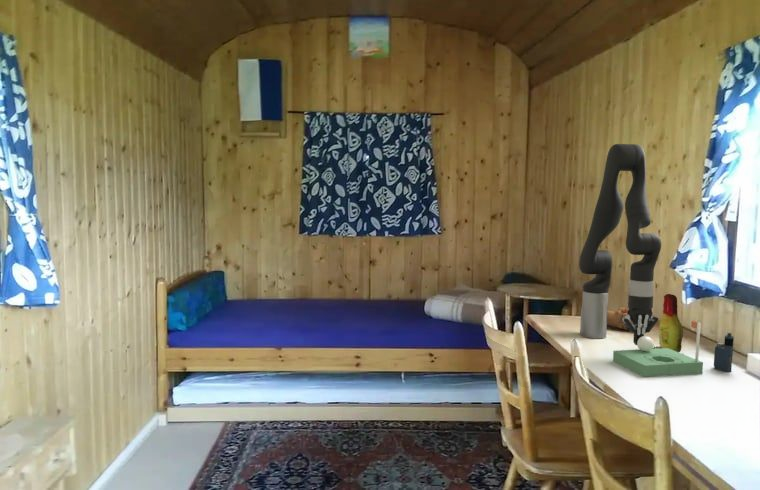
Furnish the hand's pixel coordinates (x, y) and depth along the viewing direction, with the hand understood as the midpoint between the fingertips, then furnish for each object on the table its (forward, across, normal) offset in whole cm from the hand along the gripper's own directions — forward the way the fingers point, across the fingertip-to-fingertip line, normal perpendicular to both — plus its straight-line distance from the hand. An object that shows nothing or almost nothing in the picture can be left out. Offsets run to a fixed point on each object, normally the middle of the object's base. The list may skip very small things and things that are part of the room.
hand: (638, 344), depth 190 cm
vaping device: (+5, -19, +15) cm, 25 cm away
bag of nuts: (+5, -21, -39) cm, 45 cm away
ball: (-1, 0, +4) cm, 4 cm away
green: (+5, 0, +9) cm, 10 cm away
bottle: (+5, -17, -7) cm, 19 cm away
